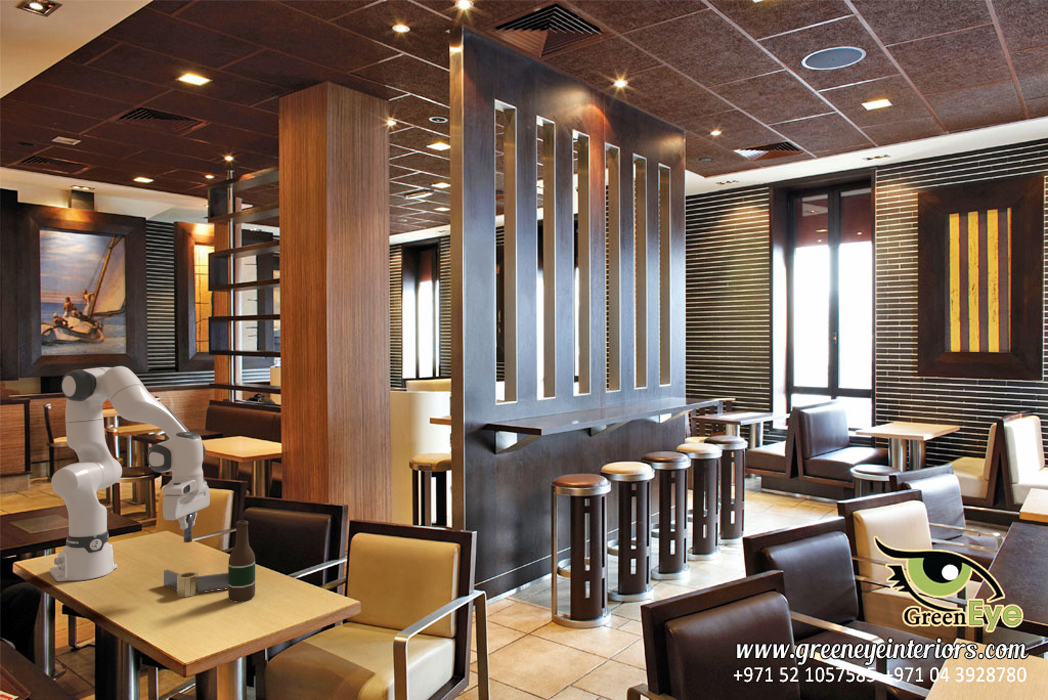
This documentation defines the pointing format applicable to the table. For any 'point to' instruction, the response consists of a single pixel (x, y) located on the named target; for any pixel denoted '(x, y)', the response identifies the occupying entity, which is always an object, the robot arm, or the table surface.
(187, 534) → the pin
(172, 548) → the table surface
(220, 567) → the table surface
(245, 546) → the beer bottle
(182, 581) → the hinge
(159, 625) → the table surface
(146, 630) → the table surface
